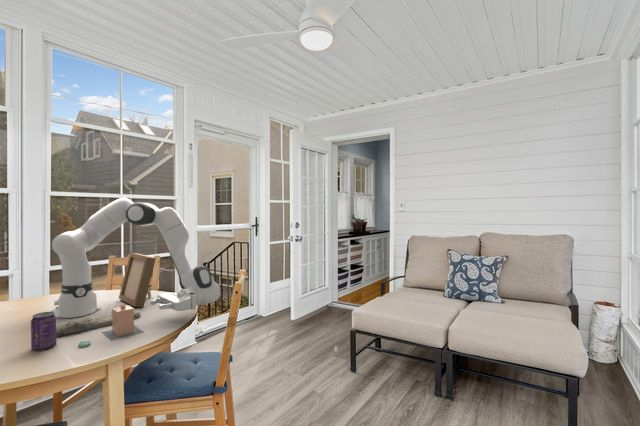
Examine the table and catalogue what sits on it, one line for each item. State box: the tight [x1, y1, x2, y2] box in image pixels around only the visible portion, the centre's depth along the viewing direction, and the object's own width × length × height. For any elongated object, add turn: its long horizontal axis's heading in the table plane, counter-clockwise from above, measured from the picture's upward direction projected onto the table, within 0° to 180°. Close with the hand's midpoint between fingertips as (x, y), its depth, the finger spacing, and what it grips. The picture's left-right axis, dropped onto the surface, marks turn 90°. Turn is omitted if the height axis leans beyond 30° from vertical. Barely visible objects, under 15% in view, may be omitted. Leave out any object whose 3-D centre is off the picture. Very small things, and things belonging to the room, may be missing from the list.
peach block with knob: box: [111, 304, 135, 336], centre depth 137 cm, size 6×6×11 cm
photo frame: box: [118, 252, 157, 308], centre depth 182 cm, size 15×22×25 cm
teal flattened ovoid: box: [78, 340, 92, 348], centre depth 124 cm, size 4×4×2 cm
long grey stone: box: [56, 311, 141, 338], centre depth 144 cm, size 35×5×10 cm
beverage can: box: [30, 311, 57, 351], centre depth 124 cm, size 7×7×12 cm
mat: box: [101, 324, 145, 342], centre depth 138 cm, size 12×12×1 cm
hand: (155, 305), depth 146 cm, fingers open, 8 cm apart
